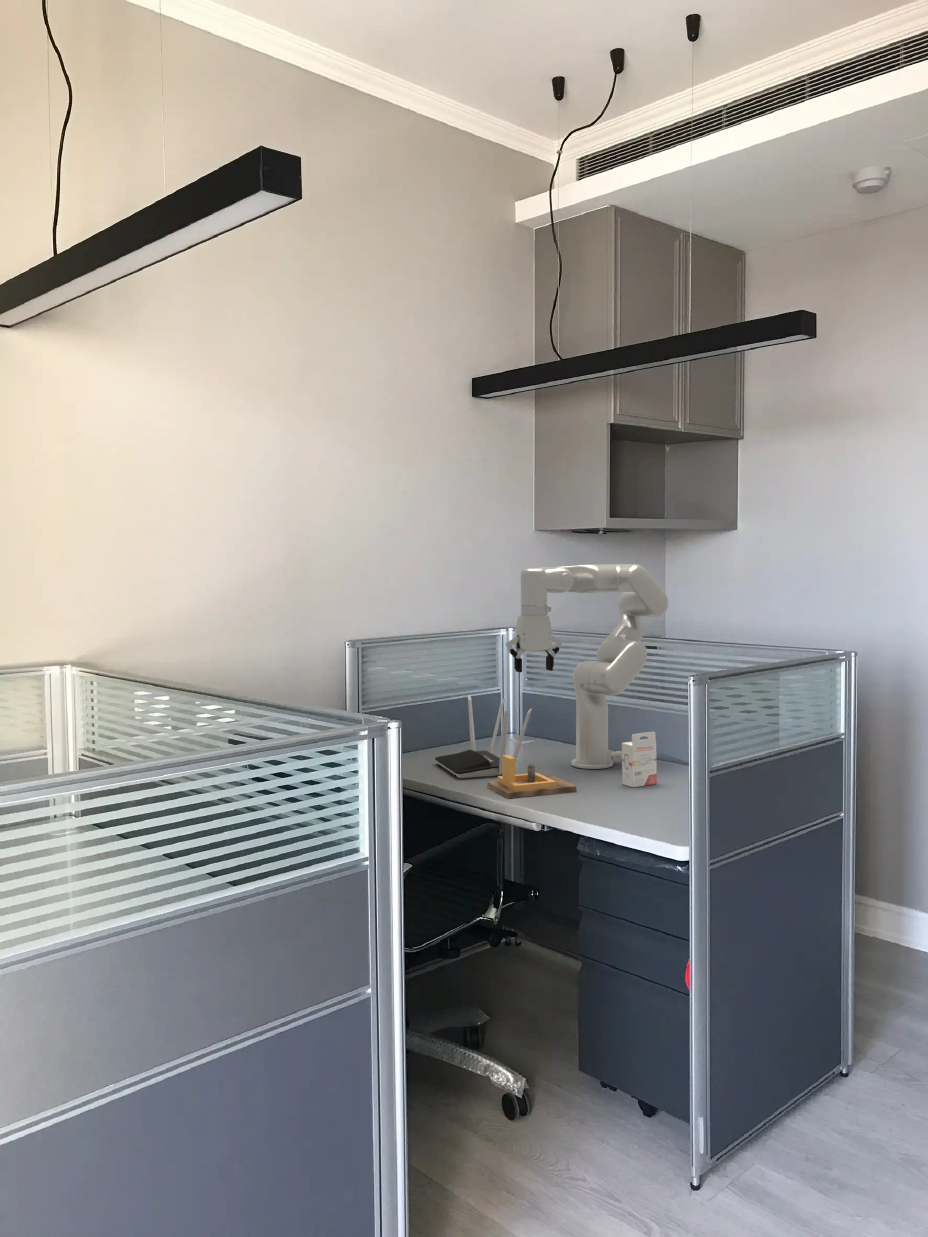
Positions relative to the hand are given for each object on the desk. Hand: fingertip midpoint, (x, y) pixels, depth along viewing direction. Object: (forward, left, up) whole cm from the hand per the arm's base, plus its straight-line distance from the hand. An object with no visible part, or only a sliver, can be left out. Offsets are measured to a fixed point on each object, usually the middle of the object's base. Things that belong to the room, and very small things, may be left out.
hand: (534, 671), depth 282 cm
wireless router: (+11, -14, -31) cm, 35 cm away
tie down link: (+10, +15, -29) cm, 34 cm away
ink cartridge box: (-22, +21, -31) cm, 43 cm away
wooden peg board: (+8, +15, -30) cm, 35 cm away
